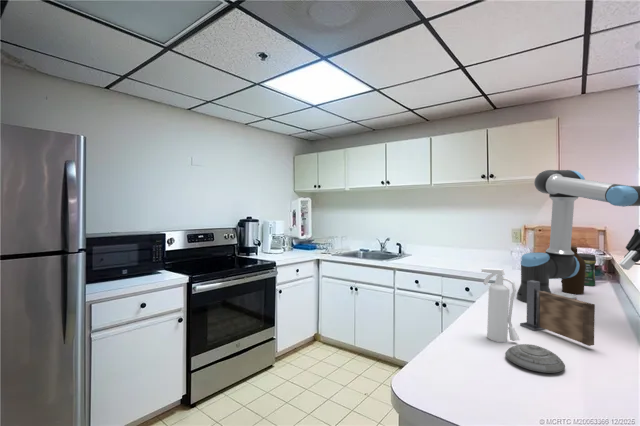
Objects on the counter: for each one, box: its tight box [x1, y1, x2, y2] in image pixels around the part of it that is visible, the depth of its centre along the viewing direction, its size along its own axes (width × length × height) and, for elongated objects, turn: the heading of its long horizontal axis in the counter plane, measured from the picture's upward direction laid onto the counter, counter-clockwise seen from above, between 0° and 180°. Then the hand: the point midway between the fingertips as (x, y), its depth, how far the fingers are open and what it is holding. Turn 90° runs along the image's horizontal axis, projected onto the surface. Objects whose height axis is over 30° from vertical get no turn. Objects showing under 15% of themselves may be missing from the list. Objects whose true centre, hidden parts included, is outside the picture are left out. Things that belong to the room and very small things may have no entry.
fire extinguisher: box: [481, 267, 521, 343], centre depth 115 cm, size 7×12×25 cm, turn 42°
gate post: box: [519, 280, 546, 332], centre depth 126 cm, size 6×6×18 cm
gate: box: [537, 290, 596, 347], centre depth 115 cm, size 19×2×13 cm, turn 18°
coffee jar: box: [577, 252, 597, 287], centre depth 194 cm, size 10×8×19 cm
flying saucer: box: [504, 343, 566, 374], centre depth 98 cm, size 15×15×6 cm
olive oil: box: [560, 245, 586, 296], centre depth 176 cm, size 11×11×25 cm
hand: (623, 266), depth 112 cm, fingers closed
